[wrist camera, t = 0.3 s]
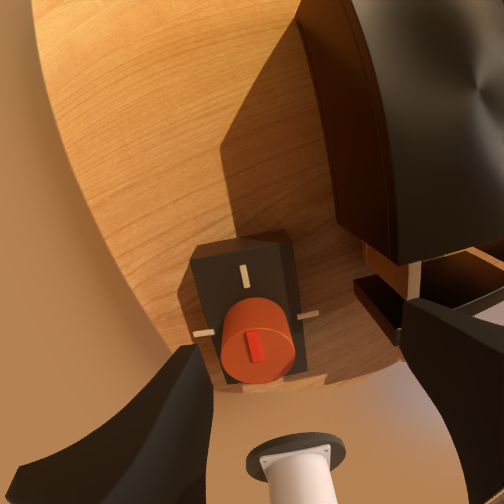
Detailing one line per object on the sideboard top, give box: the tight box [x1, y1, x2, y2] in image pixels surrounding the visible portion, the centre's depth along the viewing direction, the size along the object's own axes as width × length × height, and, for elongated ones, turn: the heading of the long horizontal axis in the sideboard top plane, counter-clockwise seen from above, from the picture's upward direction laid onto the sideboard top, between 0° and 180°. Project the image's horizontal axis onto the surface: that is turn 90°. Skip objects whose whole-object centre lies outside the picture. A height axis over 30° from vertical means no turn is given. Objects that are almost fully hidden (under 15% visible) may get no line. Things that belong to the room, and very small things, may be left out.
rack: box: [353, 237, 504, 362], centre depth 15 cm, size 18×11×7 cm, turn 11°
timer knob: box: [221, 297, 295, 384], centre depth 16 cm, size 4×4×4 cm
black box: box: [295, 0, 504, 266], centre depth 12 cm, size 16×13×9 cm
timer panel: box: [189, 229, 319, 385], centre depth 19 cm, size 10×8×3 cm
